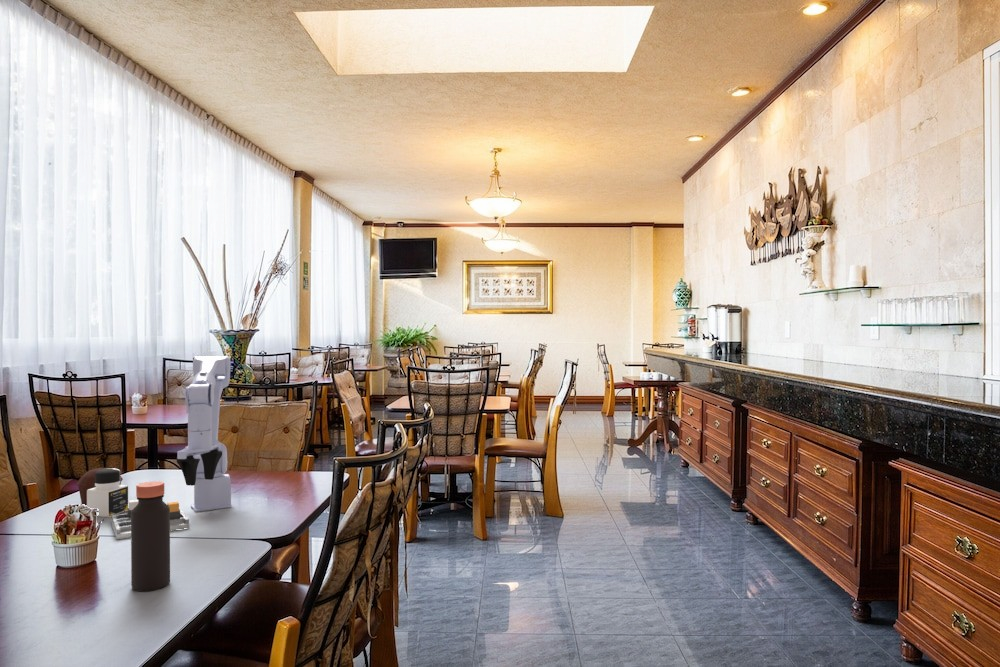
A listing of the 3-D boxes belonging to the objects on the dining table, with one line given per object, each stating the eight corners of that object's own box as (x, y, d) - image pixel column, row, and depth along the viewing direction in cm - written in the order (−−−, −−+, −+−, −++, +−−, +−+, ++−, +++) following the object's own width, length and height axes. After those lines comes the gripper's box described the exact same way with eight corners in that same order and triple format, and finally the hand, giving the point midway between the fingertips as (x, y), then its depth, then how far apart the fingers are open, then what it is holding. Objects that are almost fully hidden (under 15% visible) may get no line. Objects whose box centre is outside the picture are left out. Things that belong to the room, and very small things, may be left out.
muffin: (67, 506, 193) (67, 471, 193) (103, 497, 204) (103, 464, 203) (97, 510, 189) (96, 474, 189) (132, 501, 199) (131, 466, 199)
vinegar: (129, 594, 129) (129, 489, 129) (133, 582, 135) (132, 482, 135) (169, 588, 132) (168, 486, 132) (170, 577, 138) (170, 479, 138)
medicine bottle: (109, 517, 182) (108, 472, 182) (86, 516, 183) (86, 471, 183) (128, 510, 189) (128, 467, 189) (106, 509, 190) (106, 466, 190)
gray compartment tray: (177, 512, 187) (177, 504, 187) (189, 528, 172) (189, 519, 172) (110, 521, 178) (110, 513, 178) (116, 539, 163) (116, 530, 163)
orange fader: (178, 518, 176) (178, 501, 176) (180, 520, 174) (180, 503, 174) (165, 519, 174) (165, 502, 174) (167, 522, 172) (167, 505, 172)
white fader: (140, 515, 178) (140, 499, 178) (141, 518, 176) (141, 501, 176) (127, 517, 177) (127, 500, 177) (128, 520, 174) (128, 502, 174)
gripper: (205, 426, 185) (205, 475, 185) (166, 433, 171) (167, 487, 171) (227, 426, 184) (227, 477, 184) (190, 434, 170) (191, 488, 170)
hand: (200, 482), depth 177 cm, fingers open, 7 cm apart
